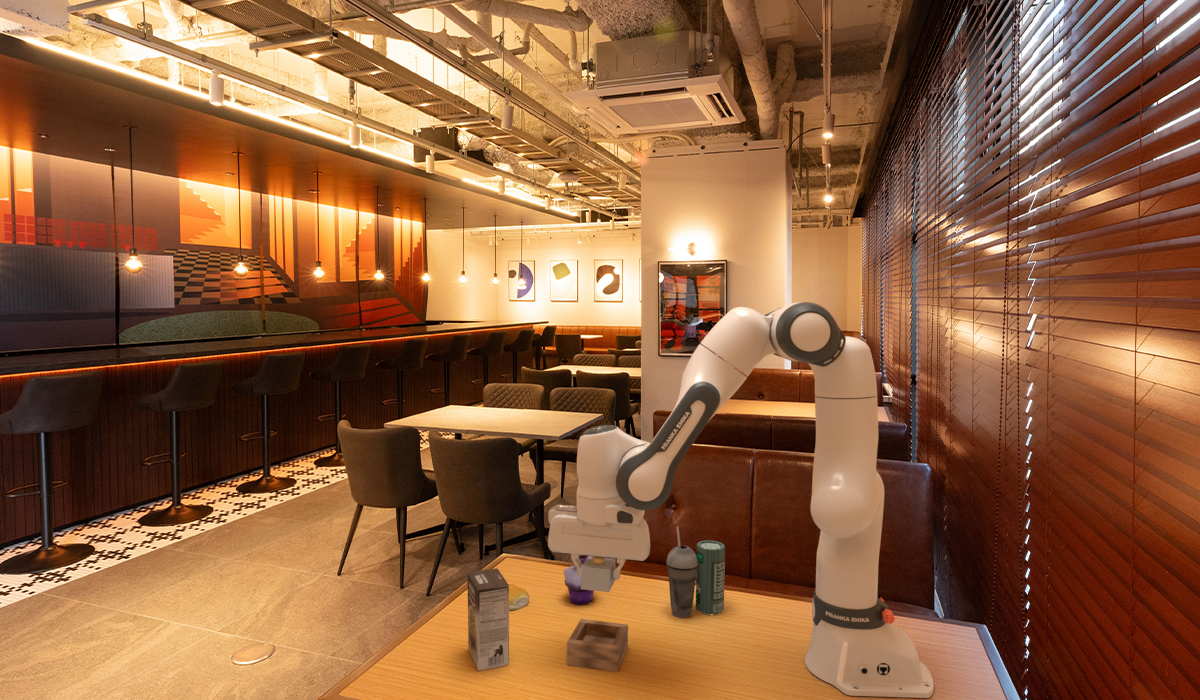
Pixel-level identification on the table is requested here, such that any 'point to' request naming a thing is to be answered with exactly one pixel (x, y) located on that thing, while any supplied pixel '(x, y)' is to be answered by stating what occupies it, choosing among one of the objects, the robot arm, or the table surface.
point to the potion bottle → (577, 585)
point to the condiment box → (597, 645)
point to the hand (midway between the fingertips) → (598, 576)
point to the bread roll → (517, 597)
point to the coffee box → (488, 618)
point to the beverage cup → (682, 578)
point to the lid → (597, 574)
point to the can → (710, 577)
